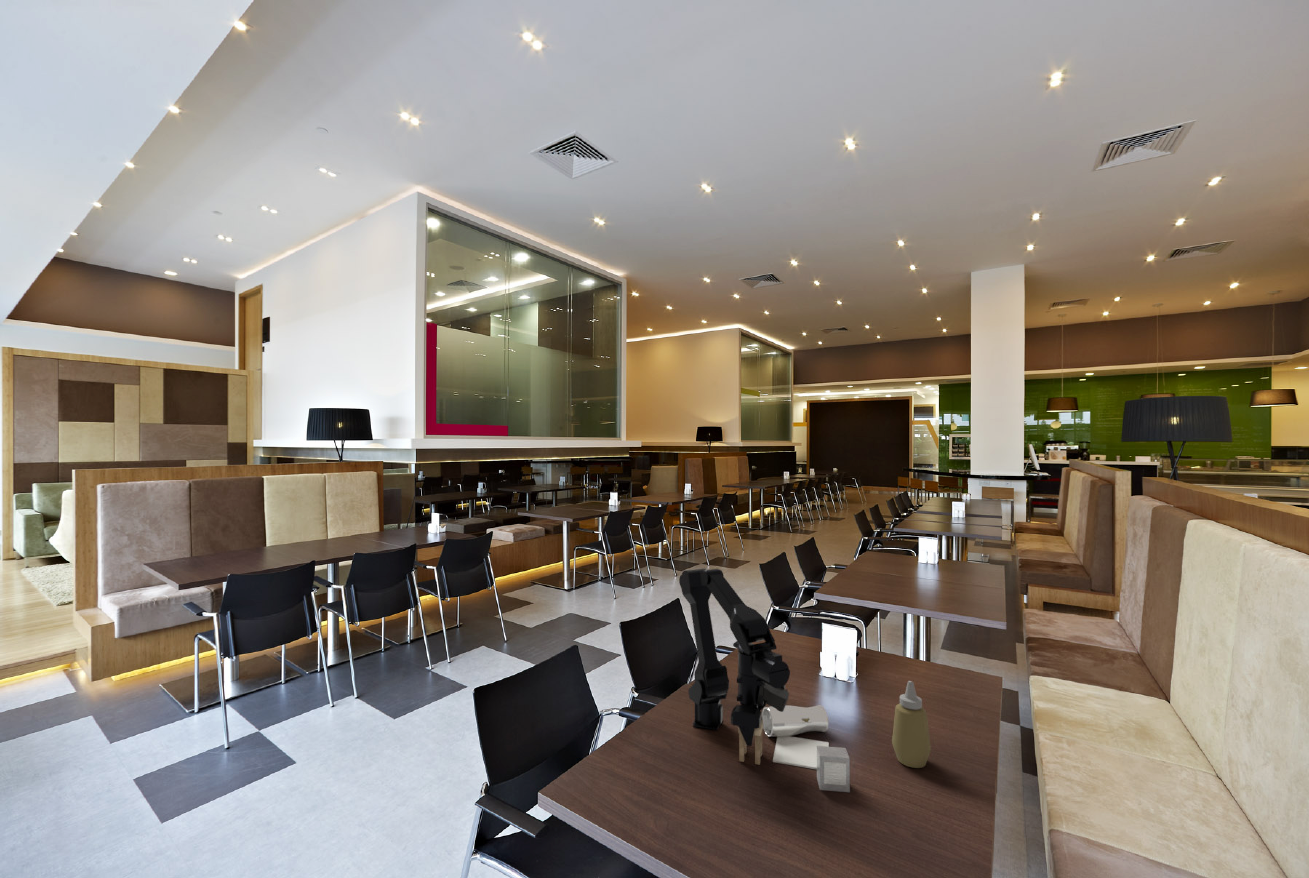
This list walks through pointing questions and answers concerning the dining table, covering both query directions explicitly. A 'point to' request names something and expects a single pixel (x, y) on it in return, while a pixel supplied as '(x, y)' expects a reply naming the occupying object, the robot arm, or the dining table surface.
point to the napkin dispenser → (833, 769)
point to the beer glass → (794, 720)
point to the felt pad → (797, 751)
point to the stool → (757, 744)
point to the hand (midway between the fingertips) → (750, 739)
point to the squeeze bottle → (911, 730)
